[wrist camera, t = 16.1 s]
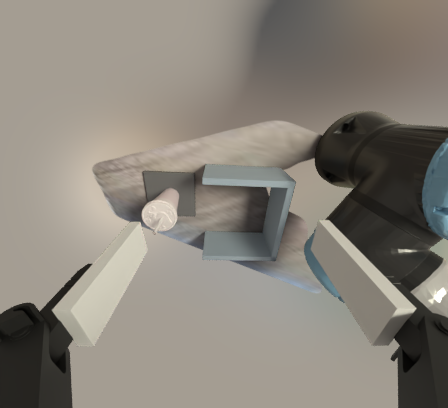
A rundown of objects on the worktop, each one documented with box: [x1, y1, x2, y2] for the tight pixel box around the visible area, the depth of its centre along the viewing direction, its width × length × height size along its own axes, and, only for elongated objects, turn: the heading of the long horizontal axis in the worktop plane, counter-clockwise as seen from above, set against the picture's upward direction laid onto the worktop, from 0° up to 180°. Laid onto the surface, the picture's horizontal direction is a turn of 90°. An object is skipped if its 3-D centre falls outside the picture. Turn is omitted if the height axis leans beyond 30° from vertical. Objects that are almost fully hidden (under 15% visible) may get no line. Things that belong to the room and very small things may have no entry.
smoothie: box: [142, 188, 179, 234], centre depth 35 cm, size 6×6×14 cm
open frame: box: [203, 164, 296, 261], centre depth 40 cm, size 17×19×9 cm
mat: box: [143, 171, 195, 216], centre depth 41 cm, size 11×11×1 cm
